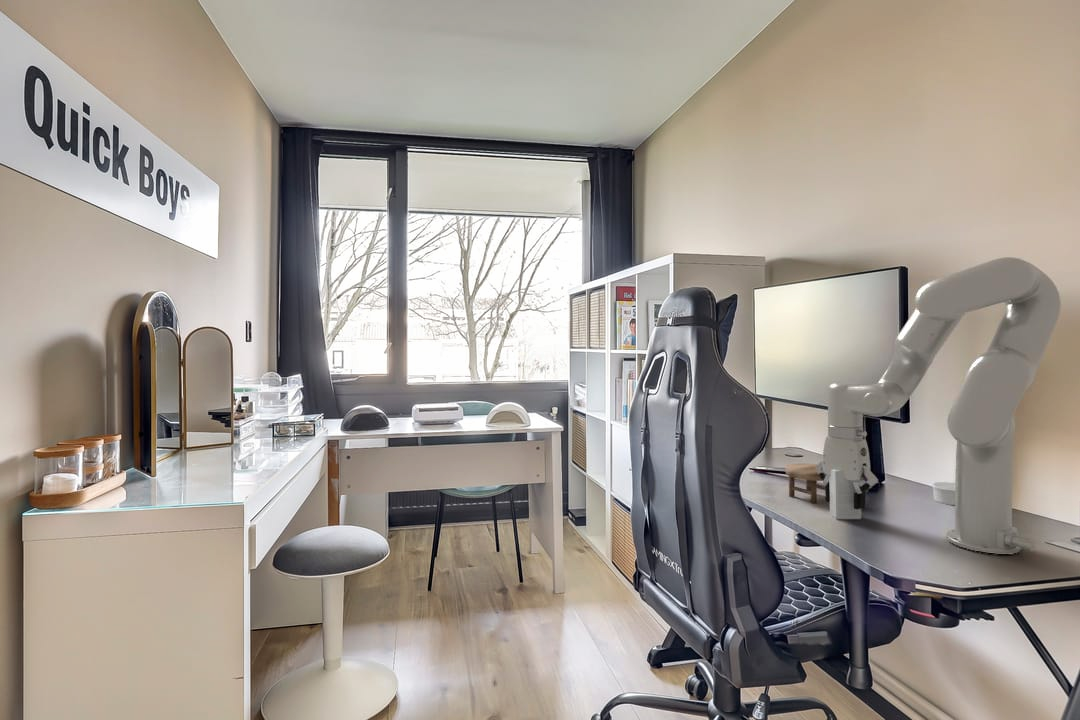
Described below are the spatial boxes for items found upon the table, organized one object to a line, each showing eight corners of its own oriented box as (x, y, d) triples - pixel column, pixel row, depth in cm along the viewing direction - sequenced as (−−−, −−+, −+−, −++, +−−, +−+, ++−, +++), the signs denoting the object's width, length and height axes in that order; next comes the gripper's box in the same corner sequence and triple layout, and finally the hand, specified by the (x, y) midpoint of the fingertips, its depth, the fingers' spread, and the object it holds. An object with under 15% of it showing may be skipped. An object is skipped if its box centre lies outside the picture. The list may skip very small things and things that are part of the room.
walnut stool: (848, 499, 155) (848, 470, 155) (816, 507, 149) (816, 477, 149) (807, 488, 167) (806, 461, 166) (775, 495, 161) (775, 467, 161)
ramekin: (940, 506, 149) (940, 489, 148) (926, 496, 157) (926, 480, 157) (979, 507, 146) (980, 491, 146) (963, 497, 155) (963, 482, 155)
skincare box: (853, 514, 143) (854, 467, 143) (861, 519, 139) (861, 471, 138) (828, 514, 144) (828, 467, 143) (835, 519, 140) (835, 471, 139)
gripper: (889, 436, 134) (889, 511, 135) (823, 426, 150) (823, 493, 151) (869, 440, 131) (869, 516, 132) (804, 429, 147) (804, 497, 147)
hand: (844, 503), depth 141 cm, fingers open, 6 cm apart
